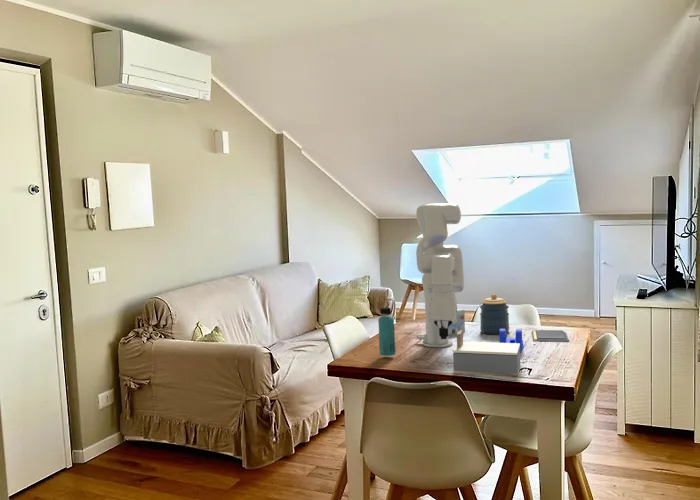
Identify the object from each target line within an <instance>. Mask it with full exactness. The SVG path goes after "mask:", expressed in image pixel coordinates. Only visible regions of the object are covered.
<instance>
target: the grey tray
mask: <svg viewBox="0 0 700 500" xmlns="http://www.w3.org/2000/svg"><path fill="white" fill-rule="evenodd" d="M452 362H453V363H452V364H453V365H452V366H453V373H454V374H455V373H456V374H470V373H471V374H472V375H473V374H474V375H491V376H492V375H493V376H509V377H510V376H512V377H519V372H520V368H521V353H520V347H519V351H518V354H517V355H501V354H477V353H454V352H452Z"/></svg>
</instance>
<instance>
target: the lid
mask: <svg viewBox="0 0 700 500" xmlns="http://www.w3.org/2000/svg"><path fill="white" fill-rule="evenodd" d="M519 347H520V343H499V342H489V341H488V342H487V341H464V333H463V331H459V332H458V333H457V334H456V345H455V346H454V348H453V350H452V353H477V354H501V355H517V354H518V351H519Z"/></svg>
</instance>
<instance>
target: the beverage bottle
mask: <svg viewBox="0 0 700 500" xmlns="http://www.w3.org/2000/svg"><path fill="white" fill-rule="evenodd" d="M379 313H380V315H381V314H382V315H381V316H380V317H379V318H378V319H377V321H378V344H379V345H378V348H379V355H380V356H383V357H390V356H395V355H396V337H395V335H396V334H395V318H394V317H393V316H392V315H389V314H391V313H392V311H391V307H381V308H380V312H379Z"/></svg>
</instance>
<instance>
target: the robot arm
mask: <svg viewBox="0 0 700 500" xmlns="http://www.w3.org/2000/svg"><path fill="white" fill-rule="evenodd" d="M415 211H416V212H415V213H416V221H417V224H418V227H419V229H420V230H421V234H422V238H420V241H419V242H418V243H417V246H416V250H415V251H416V252H415V254H416V257H415V258H416V266H417V270H418V271H419V272H418V273H421V274H423V275H422V277H421V285H422V288H423V296H424V297H423V298H424V314H425V315H424V316H425V317H424V318H425V319H424V320H425V333H423V334H421V333H420V334H419V333H416V334H415V335H416V336H415V337H416V339H417V340H423V341H422V345H423V346H424V347H427V348H445V347H450V346H452V345H453V341H452V340H451V339H449V338H450V337H449V335H448V327H449V326H450V325H451V324H454V323H457V322H458V318H457V308H458V305H457V297H456V294H457V293H460V292H462V291H463V290H464V288H465V287H464V286H465V279H464V278H465V277H464V265H463V254H462V249H461V248H460V246H458V245H456V244H444V242H445V241H446V240H447V239H448V236H449V230H448V225H458V224H459V223H460V222H461V219H462V218H461V217H462V213H461V212H462V211H461V207H460V206H459V204H458V203H455V202H449V203H448V202H447V203H445V202H444V203H441V202H440V203H427V204H422V205H419V206H418V207H417V208H416V210H415ZM455 293H456V294H455Z"/></svg>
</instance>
